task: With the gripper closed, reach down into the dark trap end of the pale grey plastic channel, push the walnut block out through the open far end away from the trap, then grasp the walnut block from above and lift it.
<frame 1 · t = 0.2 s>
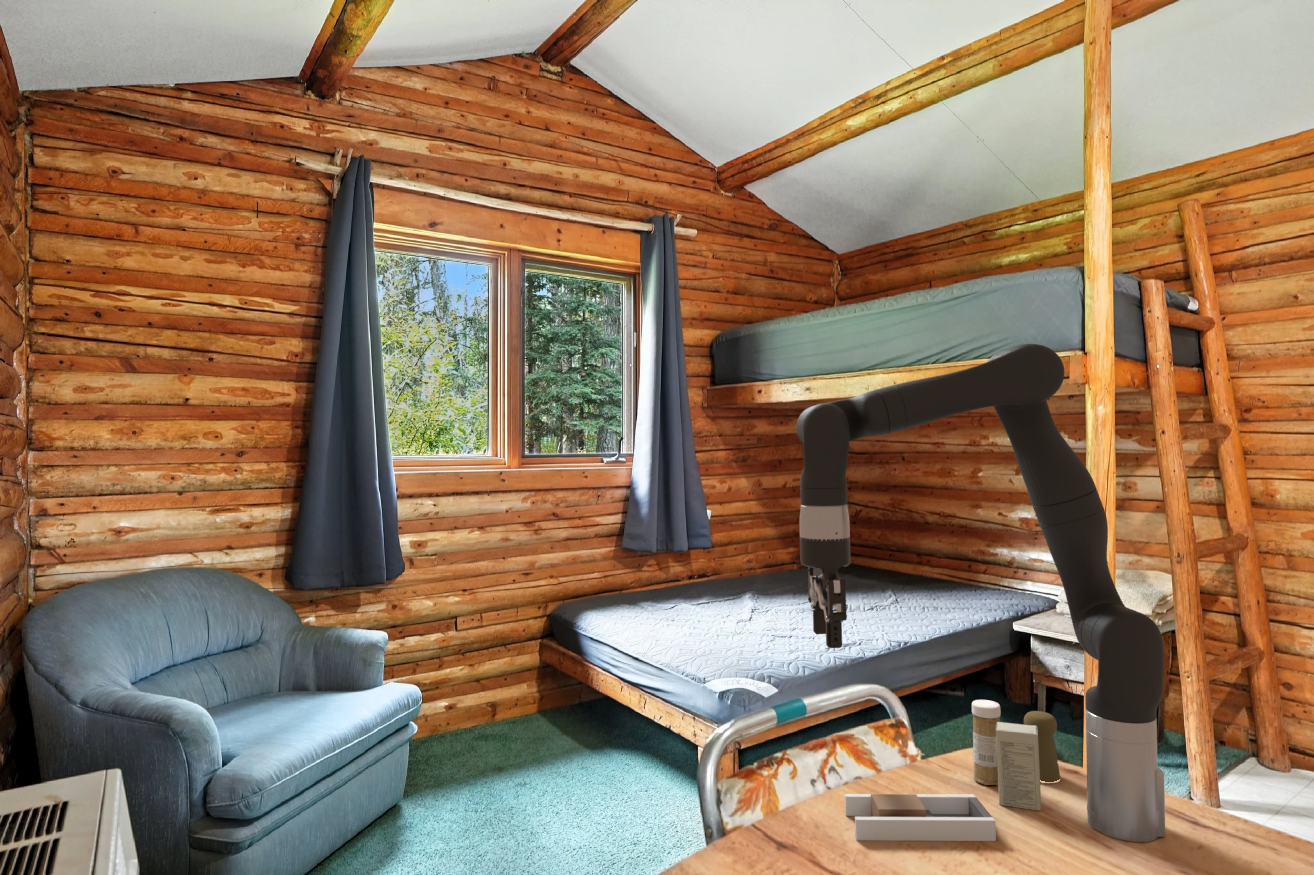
hand: (827, 640, 119), 28 cm above the table, tool pointing down, fingers open, 8 cm apart
sprinkles bottle: (987, 782, 134), on the table
walnut block: (898, 827, 119), on the table
skincare box: (1018, 804, 126), on the table
trap channel: (917, 826, 119), on the table
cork: (1041, 777, 135), on the table
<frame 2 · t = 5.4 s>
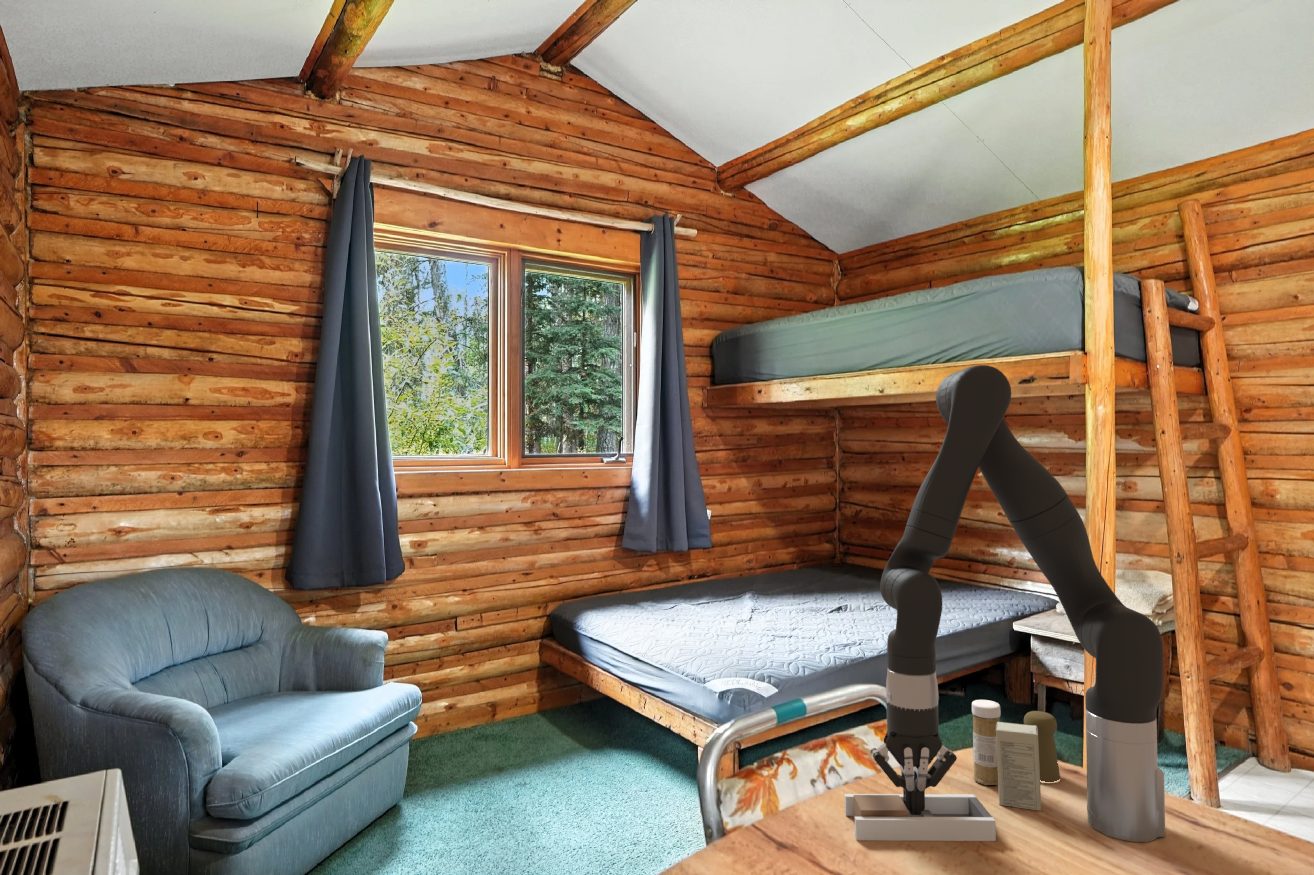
hand: (914, 812, 119), 2 cm above the table, tool pointing down, fingers closed
walnut block: (880, 828, 118), on the table, touching gripper
everything else where it was.
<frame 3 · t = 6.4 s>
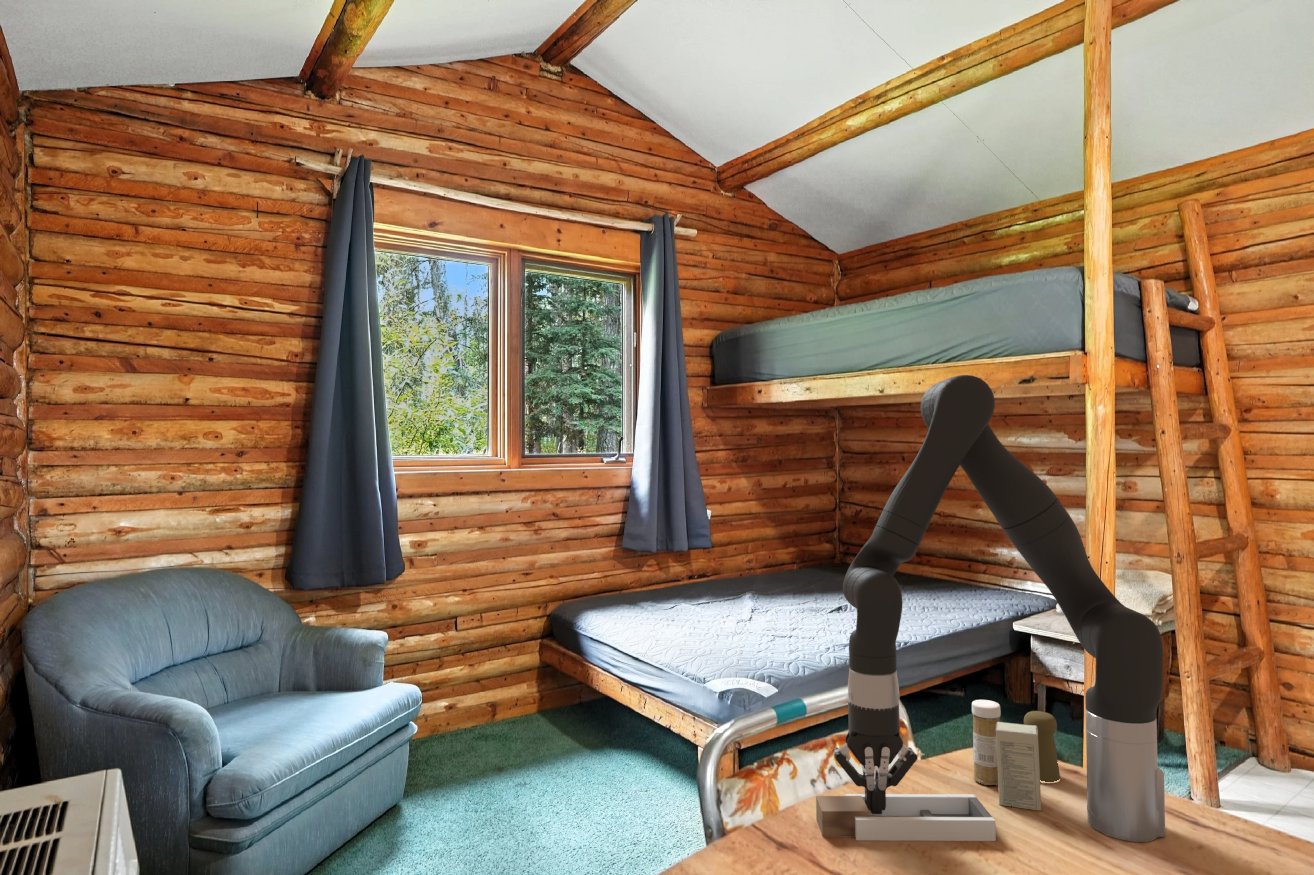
hand: (875, 811, 119), 2 cm above the table, tool pointing down, fingers closed
walnut block: (842, 829, 118), on the table, touching gripper
everything else where it was.
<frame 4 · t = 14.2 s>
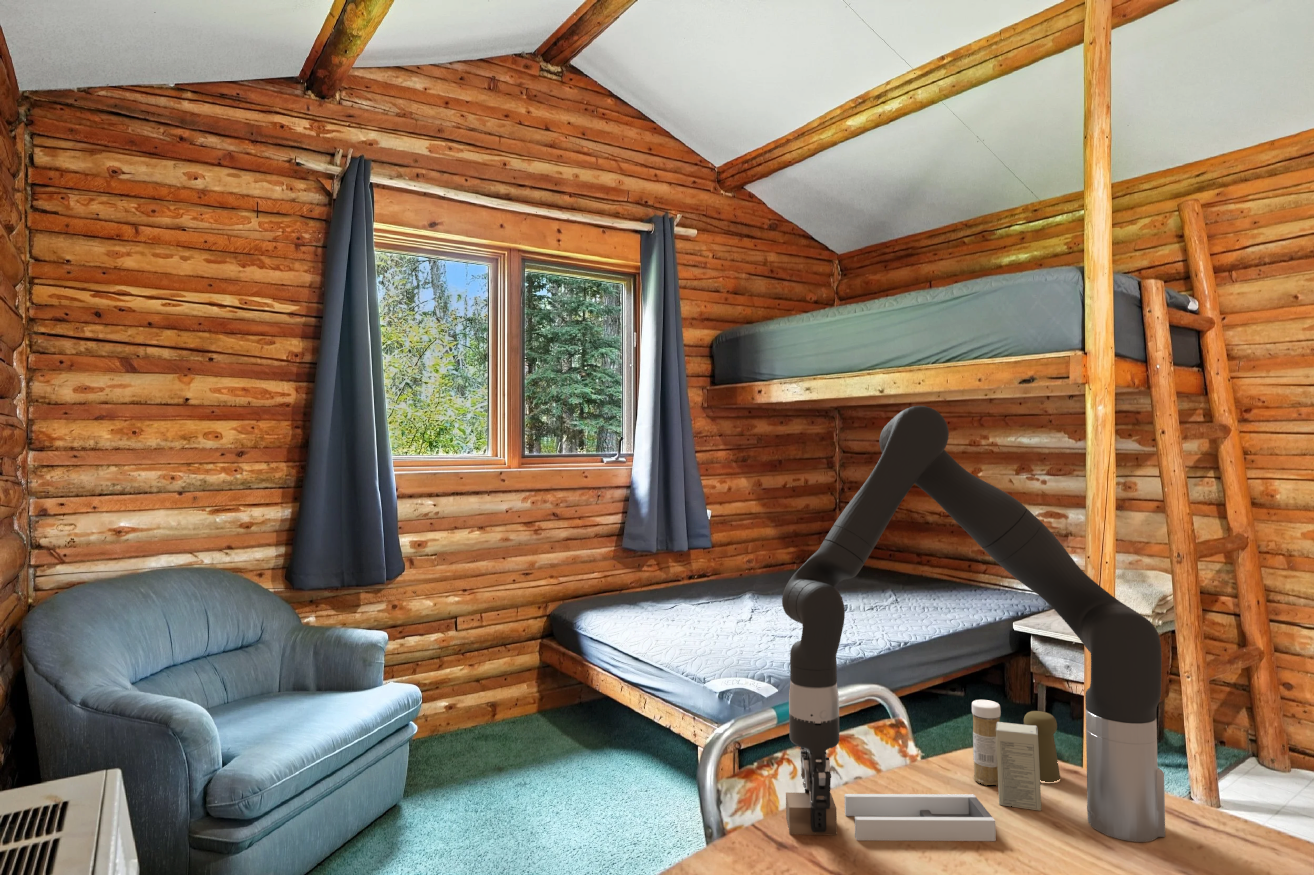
hand: (815, 821, 119), 1 cm above the table, tool pointing down, fingers closed on walnut block, 5 cm apart
walnut block: (810, 826, 119), on the table, touching gripper
everything else where it was.
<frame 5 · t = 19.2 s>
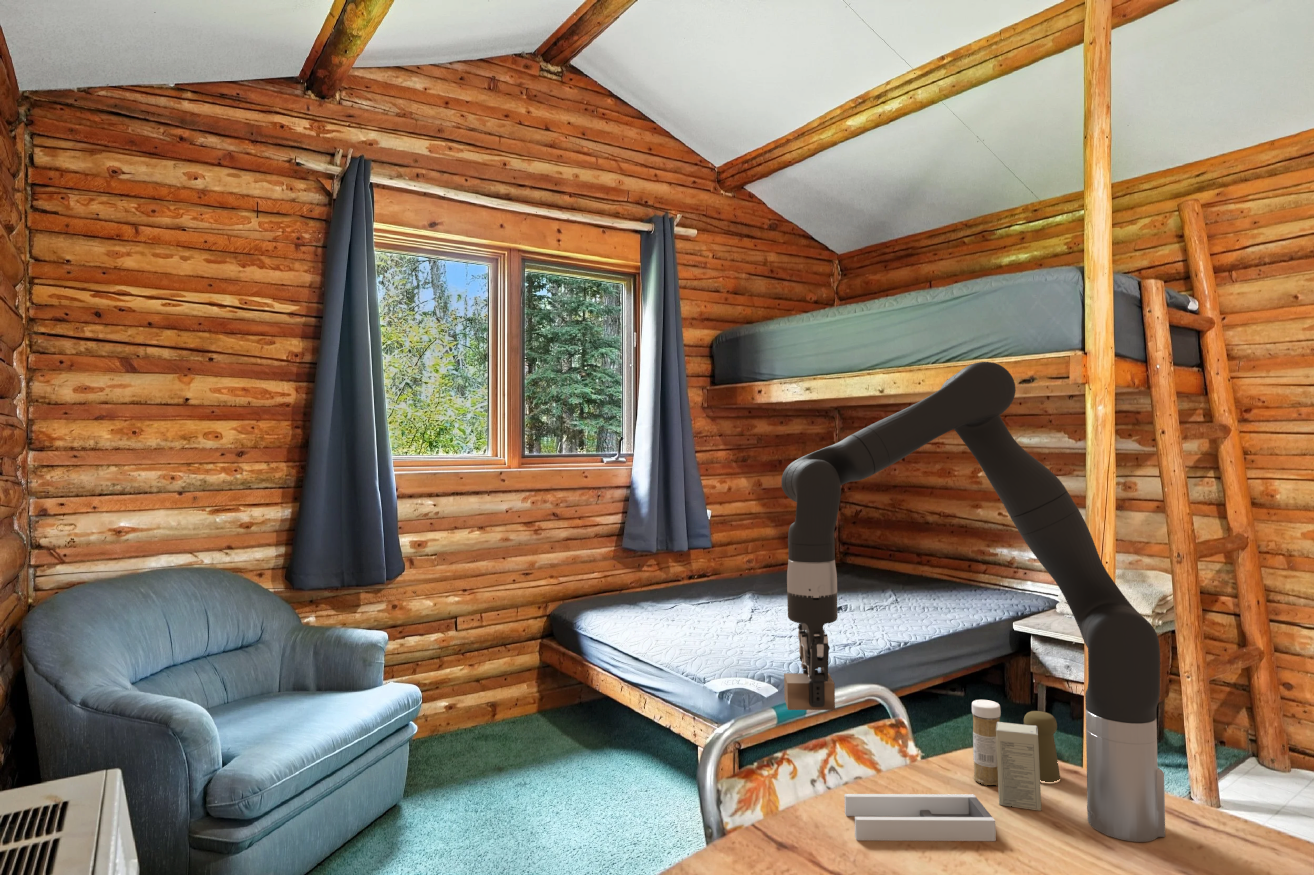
hand: (813, 699, 119), 19 cm above the table, tool pointing down, fingers closed on walnut block, 5 cm apart
walnut block: (809, 704, 119), point 19 cm above the table, touching gripper
everything else where it was.
at the end: the gripper is holding walnut block; walnut block point 18.6 cm above the table; walnut block inside the target area (0.8 cm from its centre), point 18.6 cm above the table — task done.
